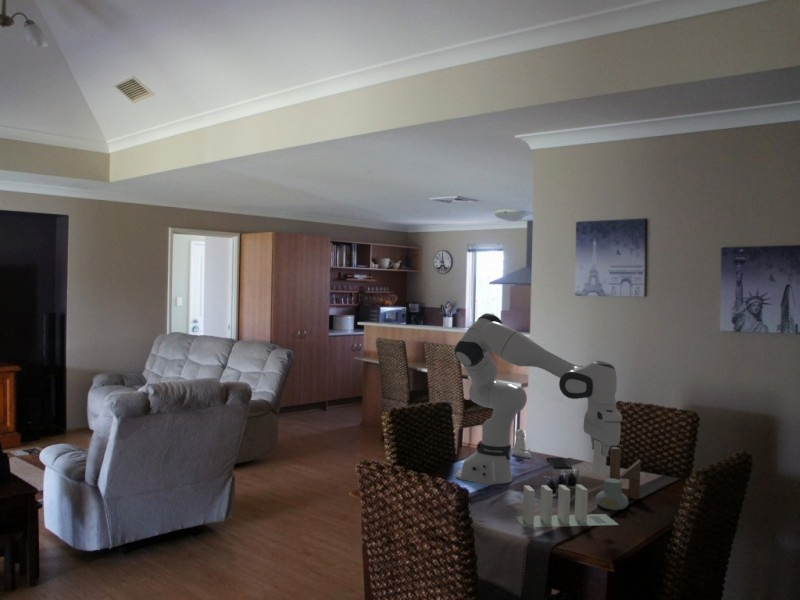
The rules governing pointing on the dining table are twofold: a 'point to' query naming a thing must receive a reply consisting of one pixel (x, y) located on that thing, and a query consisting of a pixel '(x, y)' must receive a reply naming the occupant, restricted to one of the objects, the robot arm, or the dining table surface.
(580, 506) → the domino
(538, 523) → the domino board
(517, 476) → the dining table surface
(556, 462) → the phone
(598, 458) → the domino
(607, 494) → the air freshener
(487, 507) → the dining table surface
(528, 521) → the domino
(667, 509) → the dining table surface
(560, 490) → the domino
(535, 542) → the dining table surface
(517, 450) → the sitting furry creature
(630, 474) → the wooden block
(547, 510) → the domino
